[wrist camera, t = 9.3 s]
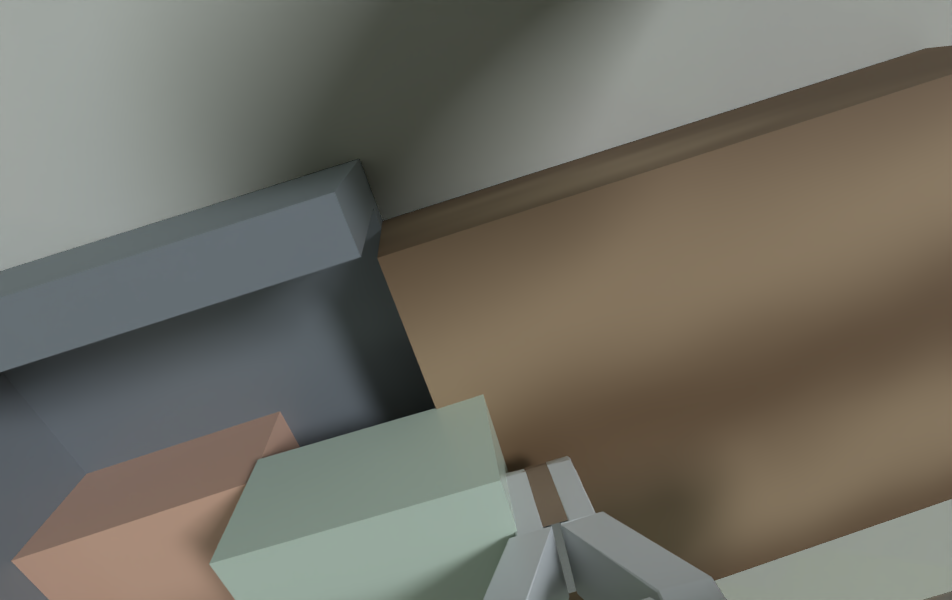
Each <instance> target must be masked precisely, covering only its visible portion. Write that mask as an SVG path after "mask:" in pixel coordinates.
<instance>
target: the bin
mask: <svg viewBox="0 0 952 600" xmlns="http://www.w3.org/2000/svg"><path fill="white" fill-rule="evenodd" d="M382 222H383V221H382V218H381V215H380V213H379V210H378V207H377V205H376V202H375V199H374V197H373V194H372V191H371V189H370V186H369V183H368V181H367V178H366V175H365V173H364V170H363V167H362V165H361V162H360V159H357V160H354V161H350V162H347V163H344V164H341V165H338V166H334V167H331V168H328V169H325V170H322V171H319V172H315V173H312V174H309V175H306V176H303V177H299V178H296V179H293V180H290V181H287V182H283V183H280V184H277V185H274V186H271V187H268V188H264V189H261V190H258V191H255V192H252V193H248V194H245V195H242V196H239V197H236V198H233V199H229V200H226V201H223V202H220V203H217V204H213V205H210V206H207V207H204V208H201V209H197V210H194V211H191V212H188V213H185V214H182V215H178V216H175V217H172V218H169V219H166V220H162V221H159V222H156V223H153V224H150V225H146V226H143V227H140V228H137V229H134V230H131V231H127V232H124V233H121V234H118V235H115V236H111V237H108V238H105V239H102V240H99V241H96V242H92V243H89V244H86V245H83V246H80V247H76V248H73V249H70V250H67V251H64V252H60V253H57V254H54V255H51V256H48V257H45V258H41V259H38V260H35V261H32V262H29V263H25V264H22V265H19V266H16V267H13V268H9V269H6V270H3V271H0V600H49V599H48V598H47V597H46V596H45V595H44V594H43V593H42V592H41V591H40V590H39V589H38V588H37V587H36V586H35V585H34V584H33V583H32V582H31V581H30V580H29V579H28V578H27V577H26V576H25V575H24V574H23V573H22V572H21V571H20V570H19V569H18V568H17V567H16V566H15V565H14V564H13V562H12V561H11V560H12V559H13V558H14V557H15V556H16V555H17V554H18V552H19V551H20V550H21V549H22V548H23V547H24V545H25V544H26V543H27V542H28V541H29V540H30V539H31V537H32V536H33V535H34V534H35V533H36V532H37V530H38V529H39V528H40V527H41V526H42V525H43V524H44V522H45V521H46V520H47V519H48V518H49V517H50V515H51V514H52V513H53V512H54V511H55V510H56V509H57V507H58V506H59V505H60V504H61V503H62V502H63V500H64V499H65V498H66V497H67V496H68V495H69V494H70V492H71V491H72V490H73V489H74V488H75V487H76V485H77V484H78V483H79V482H80V481H81V480H82V479H83V477H84V476H85V475H86V474H88V473H91V472H94V471H97V470H100V469H103V468H106V467H109V466H112V465H116V464H119V463H122V462H125V461H128V460H131V459H134V458H137V457H140V456H143V455H146V454H149V453H153V452H156V451H159V450H162V449H165V448H168V447H171V446H174V445H177V444H180V443H183V442H187V441H190V440H193V439H196V438H199V437H202V436H205V435H208V434H211V433H214V432H217V431H220V430H224V429H227V428H230V427H233V426H236V425H239V424H242V423H245V422H248V421H251V420H254V419H257V418H261V417H264V416H267V415H270V414H273V413H276V412H279V411H280V412H281V414H282V416H283V417H284V419H285V421H286V423H287V425H288V426H289V428H290V430H291V432H292V434H293V435H294V437H295V439H296V441H297V443H298V444H299V446H300V447H303V446H306V445H310V444H313V443H317V442H320V441H324V440H327V439H330V438H334V437H337V436H341V435H344V434H348V433H351V432H355V431H358V430H361V429H365V428H368V427H372V426H375V425H379V424H382V423H386V422H389V421H392V420H396V419H399V418H403V417H406V416H410V415H413V414H417V413H420V412H424V411H427V410H430V409H434V408H436V407H435V405H434V402H433V400H432V397H431V394H430V392H429V389H428V387H427V384H426V382H425V379H424V377H423V374H422V371H421V369H420V366H419V364H418V361H417V359H416V356H415V353H414V351H413V348H412V346H411V343H410V341H409V338H408V336H407V333H406V330H405V328H404V325H403V323H402V320H401V318H400V315H399V313H398V310H397V307H396V305H395V302H394V300H393V297H392V295H391V292H390V290H389V287H388V284H387V282H386V279H385V277H384V274H383V272H382V269H381V266H380V264H379V261H378V259H377V256H378V249H379V242H380V235H381V229H382Z"/></svg>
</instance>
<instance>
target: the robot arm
mask: <svg viewBox="0 0 952 600" xmlns="http://www.w3.org/2000/svg"><path fill="white" fill-rule="evenodd" d="M506 480H507V485H508V489H509V494H510V499H511V503H512V508H513V513H514V518H515V522H516V527H517V531H516V532H515V537H512V538H509V540H508V542H507V544H506V547H505V549H504V551H503V554H502V556H501V558H500V561H499V563H498V565H497V568H496V570H495V573H494V575H493V577H492V580H491V582H490V584H489V587H488V589H487V591H486V594H485V596H484V598H483V600H569V593H572V592H576V591H577V594H578V595H579V596H580V597H582V598H583V599H584V600H726V598H725V596H724V595H723V593H722V592H721V590H720V589H719V587H718V586H717V584H716V583H715V581H714V579H713V578H712V577H711V576H709V575H708V574H706V573H704V572H703V571H701V570H699V569H698V568H696V567H694V566H693V565H691V564H689V563H688V562H686V561H684V560H683V559H681V558H679V557H678V556H676V555H674V554H673V553H671V552H669V551H668V550H666V549H664V548H663V547H661V546H659V545H658V544H656V543H654V542H653V541H651V540H649V539H648V538H646V537H644V536H643V535H641V534H640V533H638V532H636V531H635V530H633V529H631V528H630V527H628V526H626V525H625V524H623V523H621V522H620V521H618V520H616V519H615V518H613V517H611V516H610V515H608V514H606V513H605V512H599V513H596V512H595V510H594V507H593V505H592V503H591V501H590V499H589V496H588V494H587V492H586V490H585V487H584V485H582V482H581V480H580V478H579V476H578V474H577V471H576V468H575V466H574V464H573V461H572V459H571V458H570V456H569V457H568V456H565V457H562V458H558V459H555V460H552V461H548V462H546V463H542V464H538V465H534V466H530V467H527V468H525V469H521V470H517V471H513V472H509V473H506ZM924 600H952V591H951V592H947V593H944V594H941V595H937V596H934V597H931V598H927V599H924Z"/></svg>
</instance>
